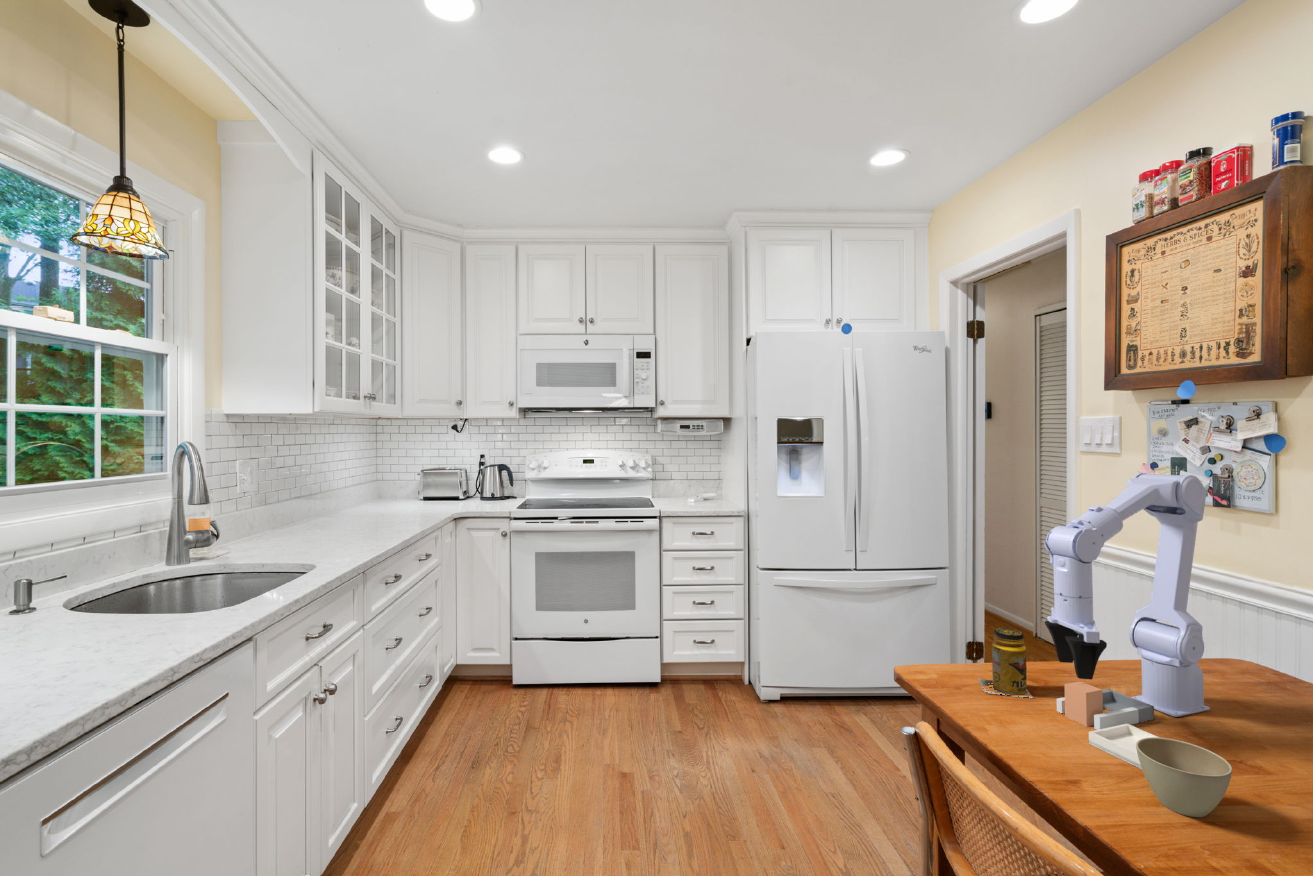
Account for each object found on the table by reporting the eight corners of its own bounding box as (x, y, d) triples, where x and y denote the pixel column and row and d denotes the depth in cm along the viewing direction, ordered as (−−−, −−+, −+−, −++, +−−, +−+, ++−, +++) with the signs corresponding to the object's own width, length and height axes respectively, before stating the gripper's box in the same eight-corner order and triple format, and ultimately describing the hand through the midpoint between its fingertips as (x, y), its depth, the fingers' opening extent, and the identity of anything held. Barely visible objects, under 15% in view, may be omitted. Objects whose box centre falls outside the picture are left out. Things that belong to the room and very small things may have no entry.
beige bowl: (1118, 788, 87) (1117, 739, 87) (1181, 783, 88) (1180, 735, 88) (1184, 832, 77) (1183, 777, 77) (1254, 827, 78) (1253, 772, 78)
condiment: (1033, 699, 117) (1032, 638, 117) (985, 694, 120) (984, 634, 120) (1022, 684, 124) (1021, 626, 124) (977, 680, 127) (976, 623, 127)
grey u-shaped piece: (1109, 701, 116) (1108, 688, 116) (1154, 719, 108) (1154, 706, 108) (1093, 704, 114) (1093, 691, 114) (1138, 722, 107) (1138, 709, 107)
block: (1081, 713, 111) (1080, 681, 111) (1102, 723, 107) (1102, 689, 107) (1065, 716, 110) (1064, 684, 110) (1086, 726, 106) (1085, 692, 106)
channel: (1093, 704, 114) (1093, 691, 114) (1138, 722, 107) (1138, 709, 107) (1056, 711, 112) (1056, 698, 112) (1099, 731, 104) (1099, 717, 104)
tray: (1127, 735, 102) (1127, 723, 102) (1187, 761, 94) (1187, 749, 94) (1088, 743, 100) (1088, 731, 100) (1147, 772, 91) (1147, 759, 91)
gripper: (1033, 583, 115) (1034, 654, 115) (1065, 604, 101) (1067, 684, 101) (1074, 584, 113) (1076, 656, 113) (1113, 606, 99) (1115, 687, 99)
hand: (1074, 669), depth 107 cm, fingers open, 7 cm apart
